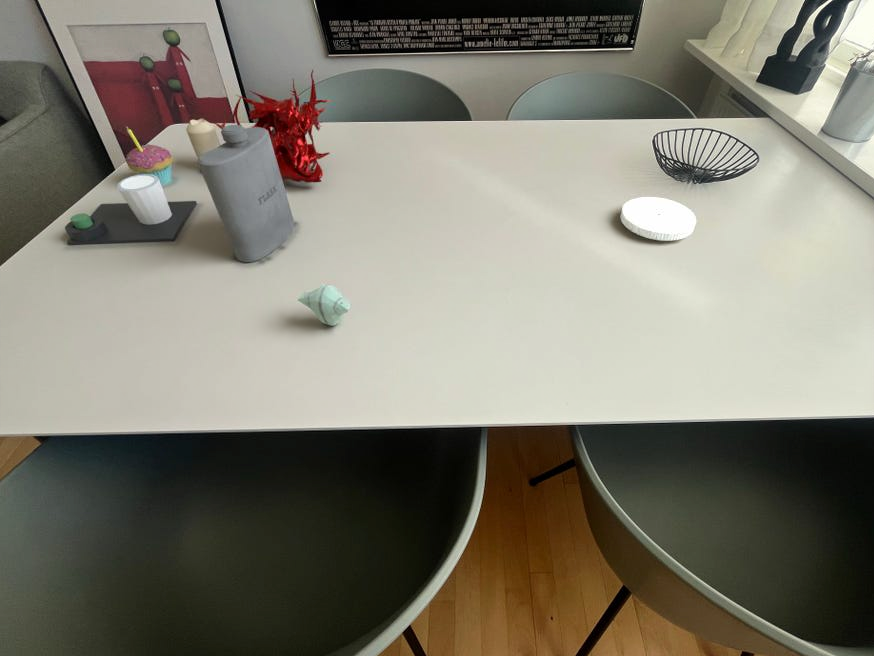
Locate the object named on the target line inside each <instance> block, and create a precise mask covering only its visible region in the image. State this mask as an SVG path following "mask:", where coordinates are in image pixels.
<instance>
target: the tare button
mask: <svg viewBox="0 0 874 656" xmlns="http://www.w3.org/2000/svg"><path fill="white" fill-rule="evenodd" d="M89 216H90V215H89V214H88V213H83V212H82V213H81V212H80V213H77V214H74V215H72V216H71V217H70V218H69V220H70V222H72V223H73V225H74V226H75V228H76V229H84V228H87V227H90V226H92V225H93V222H92V220H91V219H90V217H89Z"/></svg>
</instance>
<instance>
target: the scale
mask: <svg viewBox="0 0 874 656" xmlns="http://www.w3.org/2000/svg"><path fill="white" fill-rule="evenodd" d="M167 202H168V205H169V208H170V211H171V213H172V215H171V217H170V218H169V219H168V220H166V221H164V222H161V223H157V224H150V225H148V224H143V223H141V222H140V221H139V220H138V218H137V217H136V215H135V214H134V212H133V211H132V209H131V208H130V206H129V205H128V203H127V202H115V203H100V205H99V206H97V208H96V209H95V210H94V211H93V212H92V213H91V214H90V215H89V217H90V219H91V220H92V222H93V225H92V226H90V227H87V228H84V229H76V228H75V226H74V225H73V223H72V222H71V221H69V222H68V223H67V224H66V225H65V226H64V230H65V232H66V234H67V235H68V236H69V239H68V241H67V242H66V244H67V245H68V246H89V245H90V246H91V245H113V244H114V245H115V244H117V245H119V244H120V245H121V244H141V243H142V244H143V243H145V244H146V243H166V242H167V243H169V242H175V241H176V239H177V238H178V236H179V235H180V233H181V231H182V229H183V228H184V226H185V224H186V223H187V221H188V220H189V218H190V216H191V215H192V213H193V212H194V210H195V208H196V206H197V205H198V203H197V200H181V201H178V200H177V201H167Z"/></svg>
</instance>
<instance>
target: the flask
mask: <svg viewBox="0 0 874 656" xmlns="http://www.w3.org/2000/svg"><path fill="white" fill-rule="evenodd" d="M240 125H241V124H240ZM240 125H237V124H230V125H225V127H224V128H223V129H221V130H220V133H221V137H222V139H223V141H224V143H221V145H220V146H219V147H217V148H215V149H213V150H210V151H208V152H206V153H204V154H202V155H201V156H200V157H199V158H197V159H196V162H197V164H198V167H199V170H200V171H201V172H200V173H201V174H202V176H203V177H202V178H203V179H204V183H205V185H206V187H207V190H208V191H209V194H210V197H211V199H212V201H213V204H214V206H215V209H216V211H217V213H218V217H219V219H220V221H221V224H222V226H223V228H224V231H225V233H226V236H227V238H228V240H229V243H230V246H231V248H232V251H233V253H234V255H235V258H236V259H237V261H240V262H242V263H255V262H258V261H261V260H262V259H264V258H266V257H267V256H268V255H270V254H271V253H273V252H274V251H276V249H278V248H279V247H280V246H281V245H282V244H283V243H284V242H285V241H286V240H287V239H288V238H289V236H290V235H291V233H292V232H293V230H294V229H295V227H296V224H295V221H294V216H293V213H292V210H291V206H290V203H289V199H288V196H287V192H286V189H285V185H284V181H283V178H282V177H281V174H280V170H279V167H278V163H277V160H276V156H275V153H274V149H273V146H272V142H271V139H270V135H269V132H268V130H266V129H264V128H260V127H253V126H250V127H247V128H245V127H244V126H243V125H241V126H240Z"/></svg>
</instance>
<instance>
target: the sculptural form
mask: <svg viewBox="0 0 874 656" xmlns="http://www.w3.org/2000/svg"><path fill="white" fill-rule="evenodd" d="M313 73H314V68H313V69H312V70H311V73H310V79H311V89H310V95H309V101H303V103H302V104H301V105H300V97H298V96H297V95H298V94H297V91H296V89H295V79H294V78H292V89H293V90H291V89H290V90H289V91H290V92H292V93H290V96H293V97H294V99H295V102H294V101H293V97H290V98H286V99H283V100H277V99H275V98H271V97H268V96H265V95H263V94H259V93H257V92H255V91H251V90H249V92H251V93H252V94H253V95H255V96H257V97H259V98H260V100H262V101H263V102H259V101H256V100H253V99H250V98H246V97H243V96H240V95H239V94H236V96H237V97H238V100H237V102H236V104H235V106H234V110H233V113H232V118H231V119H232V124H234V123H235V121H236V125H240V126H242V124H241V122H240V121H239V117H238V110H239V106H240V102H241V100H245V102H246V103H248V104H249V105H252V106H253V110H249V111H248V114H250V116H249V119H250V120H257V121H256V123H254V125H252V127H260V128H264V129H266V130H268V132H269V135H270V139H271V142H272V146H273V149H274V153H275V156H276V160H277V163H278V167H279V170H280V174H281V177H282V179H286V180H292V181H293V182H295V183H301V182H304V183H321V182H322V180H321V179H322V178H323V175H324V174H323V173H324V172H323V169H322V167H321V165H320V164H319V161H318V160H321V159H323V158H325V157H327V156H328V155H330V154H331V152H324V153H321V152H320V153H319V152H318V151H317V150H316V147H315V143H314V137H313V135H312V134H313V133H312V132H313V126H314V127H315V129H316V130H317V131H318V132H319V131H320V130H321V127H322V125H320V124H321V123H323V121H319V120H318V118H319V116H320V115H321V114H322V113H323V112H324V111H325V109H326V108H327V107H326V106H324V107H322V108H321V109H320V110H319V109H318V108H317V107H316V105H318V104H320V103H324V104H325V103H327V102H330V100H329V99H318V100H317V90H316V84H315V79H314V78H313ZM227 121H228V120H227V119H225V120H224V122H223V123H222V124H219V123H217V122H215V121H213V122H212V124H213V125H216V126H217V127H218V128H219V129H220V130H222V129H223V128H224V127H226V123H227ZM248 128H251V126H249V127H248ZM307 134H308V136H309V139H310V141H311V143H308V141H307V137H306V135H307ZM311 164H312V166H311ZM310 166H311V167H310ZM309 167H310V169H309ZM314 168H315V169H314Z"/></svg>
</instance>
